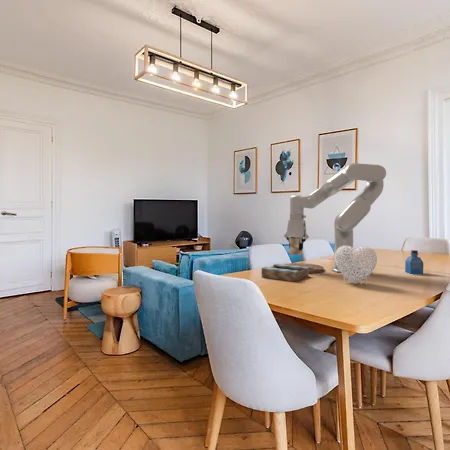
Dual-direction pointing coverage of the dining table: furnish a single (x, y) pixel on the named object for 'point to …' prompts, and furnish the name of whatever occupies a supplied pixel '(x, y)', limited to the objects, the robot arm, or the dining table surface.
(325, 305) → the dining table surface
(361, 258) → the decorative heart
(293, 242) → the beech block
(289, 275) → the crate
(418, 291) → the dining table surface
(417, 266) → the perfume bottle
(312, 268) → the trivet
